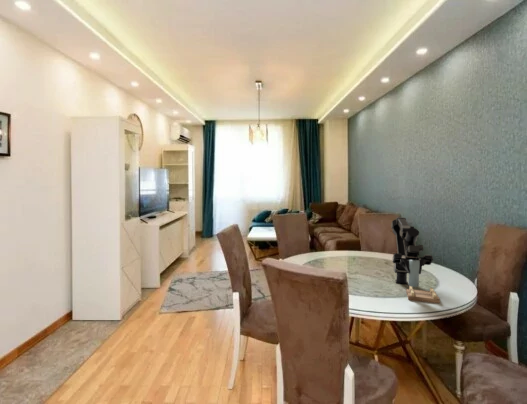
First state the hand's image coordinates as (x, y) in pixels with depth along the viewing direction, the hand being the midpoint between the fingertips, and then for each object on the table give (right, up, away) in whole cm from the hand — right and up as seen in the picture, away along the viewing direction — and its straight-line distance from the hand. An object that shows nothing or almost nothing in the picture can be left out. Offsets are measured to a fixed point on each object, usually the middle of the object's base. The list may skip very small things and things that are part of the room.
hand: (414, 273), depth 164 cm
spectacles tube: (0, -6, +2) cm, 7 cm away
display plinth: (+6, -13, +4) cm, 15 cm away
